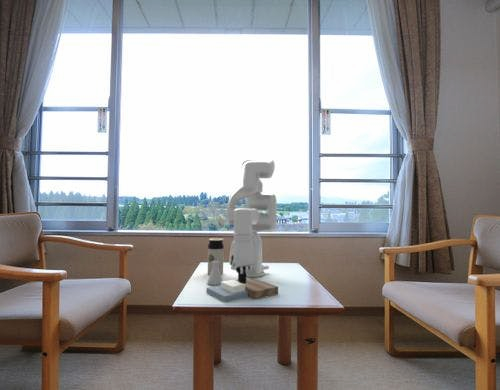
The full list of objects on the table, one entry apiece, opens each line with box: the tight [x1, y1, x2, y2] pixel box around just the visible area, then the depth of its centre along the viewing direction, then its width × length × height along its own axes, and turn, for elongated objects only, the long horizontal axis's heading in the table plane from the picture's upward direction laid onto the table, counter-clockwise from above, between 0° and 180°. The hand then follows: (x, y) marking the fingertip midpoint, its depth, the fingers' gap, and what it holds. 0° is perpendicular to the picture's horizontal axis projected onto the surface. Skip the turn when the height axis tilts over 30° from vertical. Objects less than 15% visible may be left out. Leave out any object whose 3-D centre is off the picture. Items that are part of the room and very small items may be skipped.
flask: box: [206, 261, 224, 287], centre depth 141 cm, size 7×7×10 cm
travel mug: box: [207, 237, 225, 276], centre depth 160 cm, size 8×8×18 cm
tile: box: [221, 279, 245, 293], centre depth 125 cm, size 6×9×2 cm, turn 37°
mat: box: [206, 285, 249, 303], centre depth 124 cm, size 11×14×2 cm
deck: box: [234, 277, 279, 300], centre depth 130 cm, size 12×18×3 cm, turn 37°
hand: (242, 282), depth 127 cm, fingers closed
